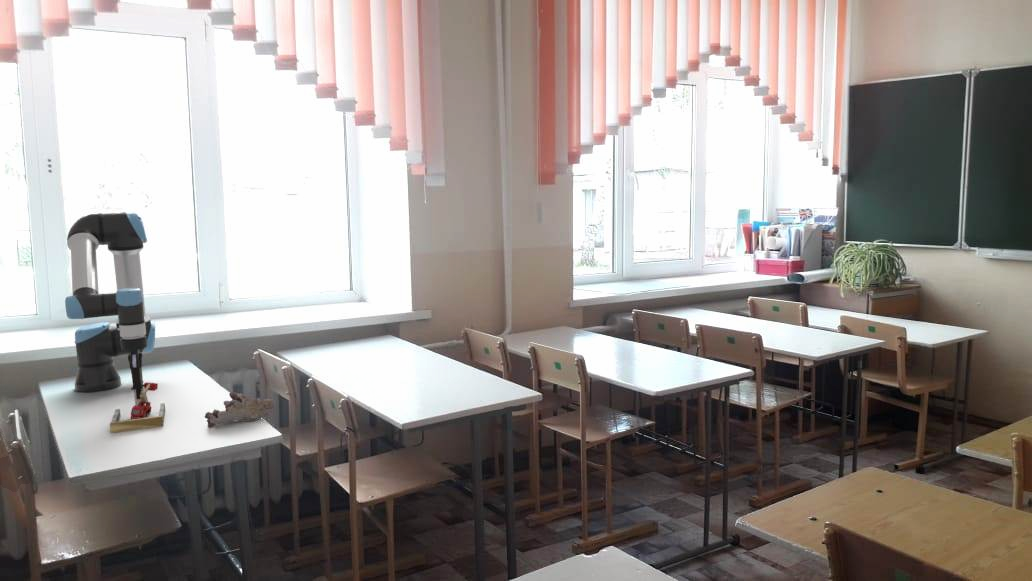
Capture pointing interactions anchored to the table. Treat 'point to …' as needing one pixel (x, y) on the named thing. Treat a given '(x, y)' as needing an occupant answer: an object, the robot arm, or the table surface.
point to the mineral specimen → (240, 410)
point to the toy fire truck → (143, 410)
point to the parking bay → (136, 421)
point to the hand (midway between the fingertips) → (140, 407)
